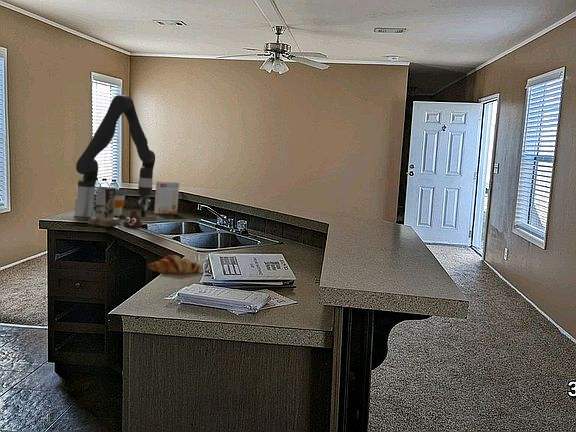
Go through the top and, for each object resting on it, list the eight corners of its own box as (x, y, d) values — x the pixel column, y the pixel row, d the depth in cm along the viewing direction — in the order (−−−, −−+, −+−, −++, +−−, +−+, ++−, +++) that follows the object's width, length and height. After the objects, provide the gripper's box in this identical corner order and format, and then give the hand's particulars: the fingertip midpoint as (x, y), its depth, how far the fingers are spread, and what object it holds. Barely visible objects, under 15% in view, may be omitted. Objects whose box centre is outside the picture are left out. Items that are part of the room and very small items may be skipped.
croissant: (198, 279, 233) (197, 259, 236) (207, 272, 225) (206, 252, 228) (144, 278, 224) (144, 257, 226) (151, 271, 215) (151, 250, 218)
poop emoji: (144, 226, 326) (145, 209, 325) (138, 228, 317) (140, 211, 316) (126, 224, 327) (127, 207, 326) (120, 226, 318) (121, 209, 317)
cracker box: (172, 213, 394) (174, 181, 392) (177, 214, 390) (179, 182, 387) (153, 213, 384) (156, 180, 382) (158, 214, 380) (160, 181, 378)
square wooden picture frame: (87, 223, 316) (88, 217, 315) (99, 221, 327) (99, 215, 327) (108, 226, 313) (109, 220, 313) (119, 224, 325) (120, 218, 325)
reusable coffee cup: (98, 213, 358) (99, 188, 356) (115, 212, 368) (116, 188, 366) (111, 216, 351) (113, 191, 349) (128, 215, 361) (130, 191, 359)
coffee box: (105, 219, 315) (107, 189, 313) (94, 218, 316) (96, 187, 314) (113, 217, 324) (116, 188, 322) (103, 216, 325) (105, 187, 323)
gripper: (146, 187, 323) (144, 219, 325) (156, 186, 336) (154, 216, 338) (133, 185, 324) (131, 217, 326) (144, 184, 337) (142, 215, 339)
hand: (143, 217), depth 332 cm, fingers closed
